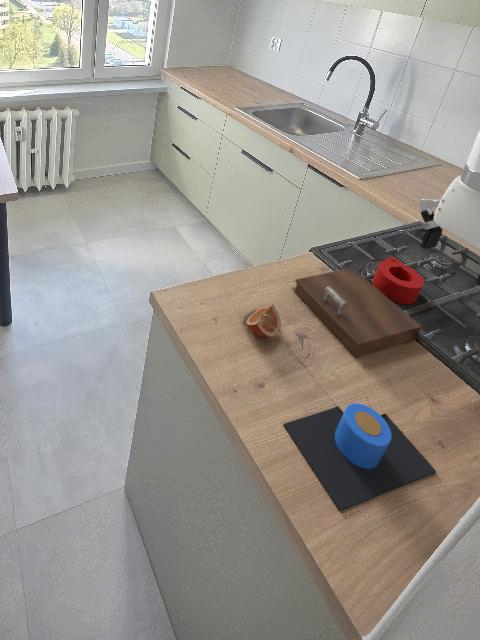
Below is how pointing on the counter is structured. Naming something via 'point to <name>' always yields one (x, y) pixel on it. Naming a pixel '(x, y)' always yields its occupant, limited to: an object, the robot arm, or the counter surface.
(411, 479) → the mat
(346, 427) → the tape roll
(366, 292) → the lid
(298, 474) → the counter surface
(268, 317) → the fruit slice
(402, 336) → the chest
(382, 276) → the red curved piece
